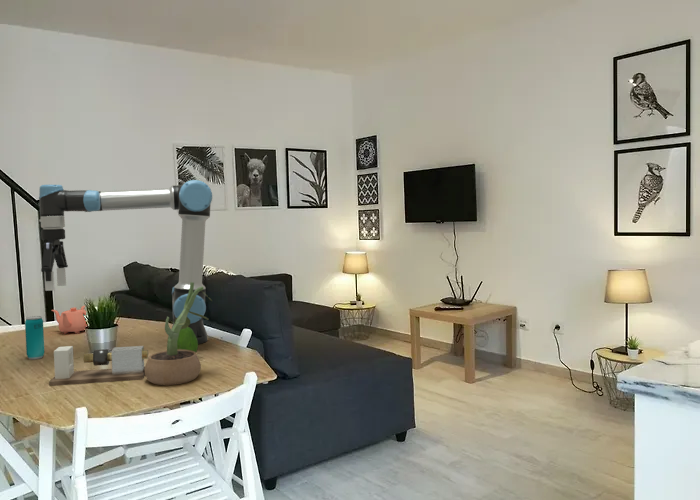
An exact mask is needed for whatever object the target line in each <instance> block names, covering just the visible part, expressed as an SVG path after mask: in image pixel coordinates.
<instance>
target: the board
mask: <svg viewBox="0 0 700 500" xmlns="http://www.w3.org/2000/svg"><path fill="white" fill-rule="evenodd" d="M145 377H146V376H145V366H144V371H143V373H133V374H119V375H112V368H104V369H88V370H87V369H86V370H74V374H73V375H72V376H71V377H70V378H67V379H55V376H53V377H52V378H51V379H50V381H49V382H48V386H49V385H52V386H64V385H77V384H78V385H79V384H80V385H81V384H93V383H95V384H96V383H107V382H121V381H135V380H143V379H144V378H145Z"/></svg>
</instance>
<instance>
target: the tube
mask: <svg viewBox="0 0 700 500" xmlns="http://www.w3.org/2000/svg"><path fill="white" fill-rule="evenodd" d="M148 358H149V350H148V349H146V350H145V349H144V350H142V359H144V360H148ZM110 362H112V352H111V351H110V349H109V348H104V349H103V348H102V349H101V348H100V349H94V350H93V353H92V352H91V353H90V352H89V353H84V354H83V363H84V364H85V363H92V364H93V366H94V367H95V366H106V365H107V366H108V365H109V364H110Z"/></svg>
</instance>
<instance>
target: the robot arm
mask: <svg viewBox="0 0 700 500" xmlns="http://www.w3.org/2000/svg"><path fill="white" fill-rule="evenodd" d="M38 200H39V212H40V213H39V215H40V219H39V220H38V221H39V223H40V227H41V228H42V229H41V231H40V236H41V240H42V241H47V242H44V243H43V255H42V263H41V270H40V271H41V273H44V274H43V275H44V276H43V277H44V290H45V291H46V292H47V291H48V292H49V291H55V277H54V270H53V269H54V263H56V266H57V267H56V281H57V283H56V284H57V287H60V286H61V287H63V286H67V280H66V279H67V277H66V268H68V267H69V266H68V263H67V258H66V257H67V256H66V253H65V247H64V241H63V240H65V239H66V229H65V227H66V222H65V212H84V213H92V212H102V211H103V212H104V211H122V210H123V211H124V210H125V211H127V210H145V209H166V208H170V209H172V210H173V211H178V212H177V213H178V217H180V219H181V234H180V236H181V237H180V254H179V256H180V257H179V271H178V275H179V276H178V283H177V284H175V285H174V286H172V288H171V289H172V290H171V298H172V299H171V300H172V301H171V302H172V305H171V306H172V322H174V323H172V327H173V326H174V324H175V319H176V318H177V317H179V315H180V314H181V313H182V311H183V309H184V305H185V301H186V298H187V296H188V293H189V288H190V282H193V283H194V289H193V292H194V291H195V290H196V289H197V288H199V287H202V286H203V289H204V290H201V291H200V292H198V294H197V295H196V298H195V300H194V303H193V305H192V307H191V309H190V310H189V311H191V312H194V313H197V314H200V315H203V316H204V315H205V313H206V310H207V306H206V295H205V294H206V286H205V284H203V274H204V273H203V271H204V270H203V268H204V252H205V236H206V234H205V233H206V221H207V220H208V219H209V218H210V217H211V204H212V202H213V192H212V189H211V188H210V187H209V185H208V184H207V183H205V182H204V181H202V180H198V179H190V180H188V181H186V182H184V183H182V184H178V185H177V184H176V185H171V186H170V187H168V188H148V189H146V188H145V189H126V190H125V189H124V190H122V189H121V190H102V191H101V190H100V191H98V190H92V189H86V190H83V189H82V190H81V189H79V190H78V189H77V190H76V189H75V190H69V189H68V190H66V189H64V186H63V185H62V184H41V185H40V186H39V197H38ZM203 292H204V293H205V294H204V293H203ZM187 317H188V318H189V319H190V325H189V326H188V327H190V328H191V329H192V330H193V332H194V334H195V336H196V338H197V341H198V345H200V344H204V343H206V342H208V339H209V338H208V333H207V331H206V327H205V325H204V320H203V319H204V318H202V317H200V316H197V315H194V314H191V313H188V315H187ZM172 327H171V328H172Z"/></svg>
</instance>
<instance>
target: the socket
mask: <svg viewBox="0 0 700 500" xmlns="http://www.w3.org/2000/svg"><path fill="white" fill-rule="evenodd" d="M53 357H54V358H53V361H54V363H53V364H54V377H55V379H67V378H70V377H71V376H72V375H73V374H74V371H75V370H74V369H75V367H74V366H75V365H74V362H75V361H74V346H73V345H71V346H69V345H67V346H58V347H57V348H56V349H55V350H53Z"/></svg>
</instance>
